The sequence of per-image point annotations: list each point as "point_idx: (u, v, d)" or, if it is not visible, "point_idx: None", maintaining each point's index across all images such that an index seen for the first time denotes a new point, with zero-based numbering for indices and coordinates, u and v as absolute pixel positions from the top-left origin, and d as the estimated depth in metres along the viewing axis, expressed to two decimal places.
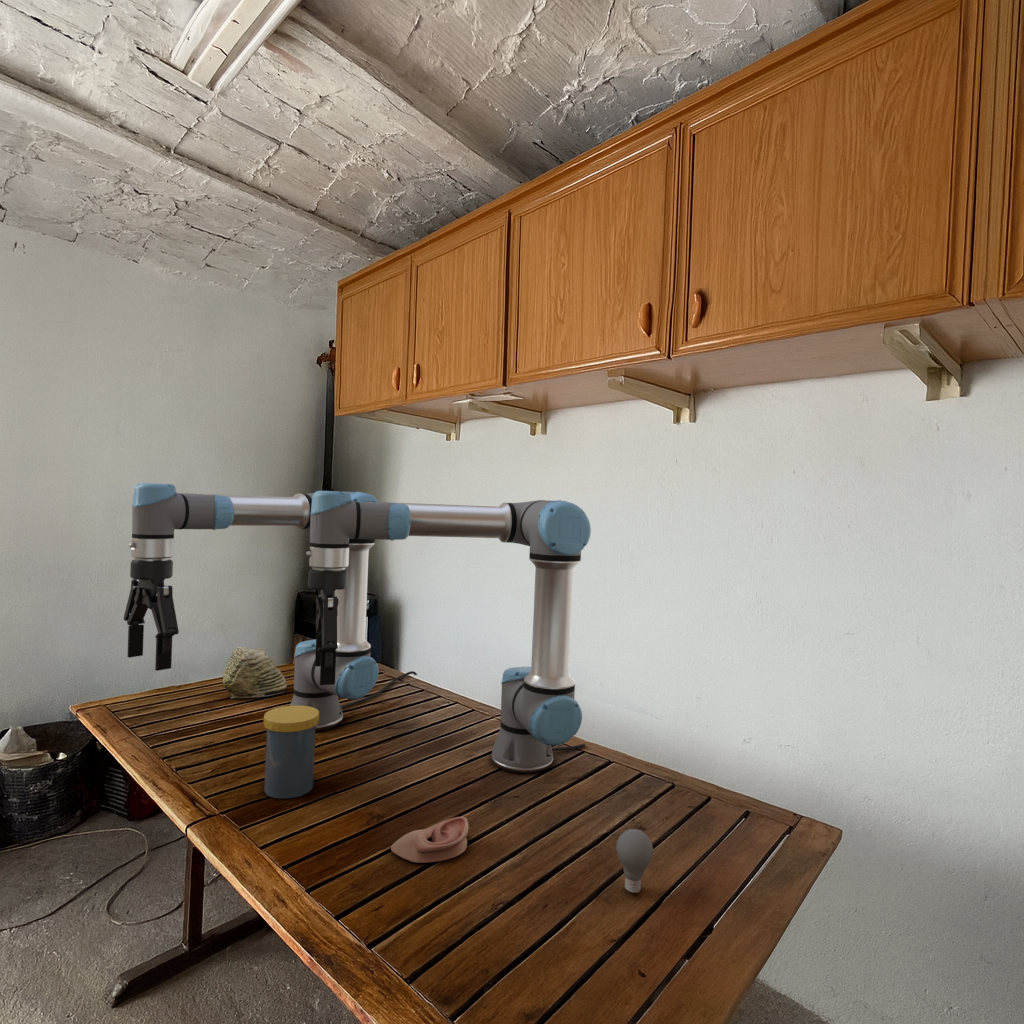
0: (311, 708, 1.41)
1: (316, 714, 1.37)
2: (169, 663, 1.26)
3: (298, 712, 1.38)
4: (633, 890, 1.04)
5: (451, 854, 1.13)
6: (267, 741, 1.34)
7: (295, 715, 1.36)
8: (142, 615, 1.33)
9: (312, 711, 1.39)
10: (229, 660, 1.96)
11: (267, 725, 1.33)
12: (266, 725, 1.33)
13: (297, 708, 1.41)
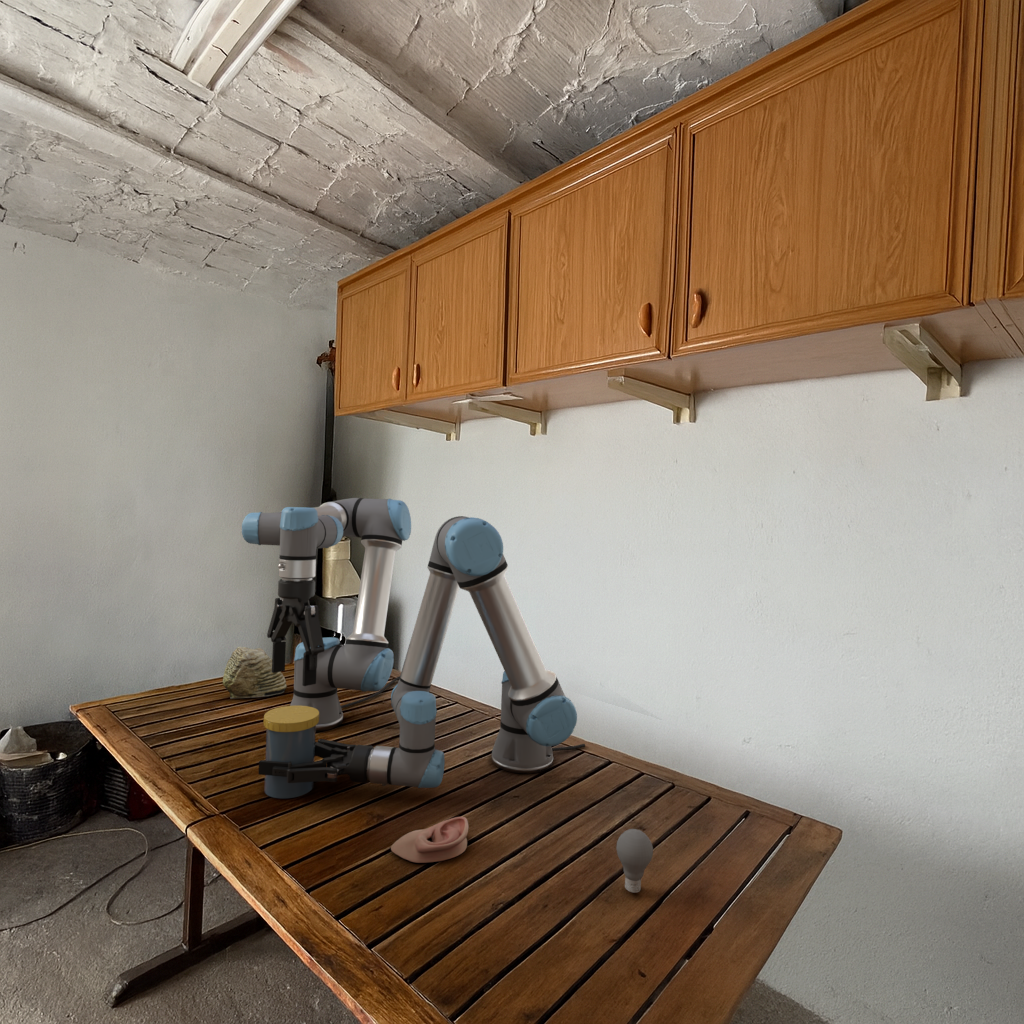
0: (311, 708, 1.41)
1: (316, 714, 1.37)
2: (314, 679, 1.33)
3: (298, 712, 1.38)
4: (633, 890, 1.04)
5: (451, 854, 1.13)
6: (267, 741, 1.34)
7: (295, 715, 1.36)
8: (285, 632, 1.41)
9: (312, 711, 1.39)
10: (229, 660, 1.96)
11: (267, 725, 1.33)
12: (266, 725, 1.33)
13: (297, 708, 1.41)
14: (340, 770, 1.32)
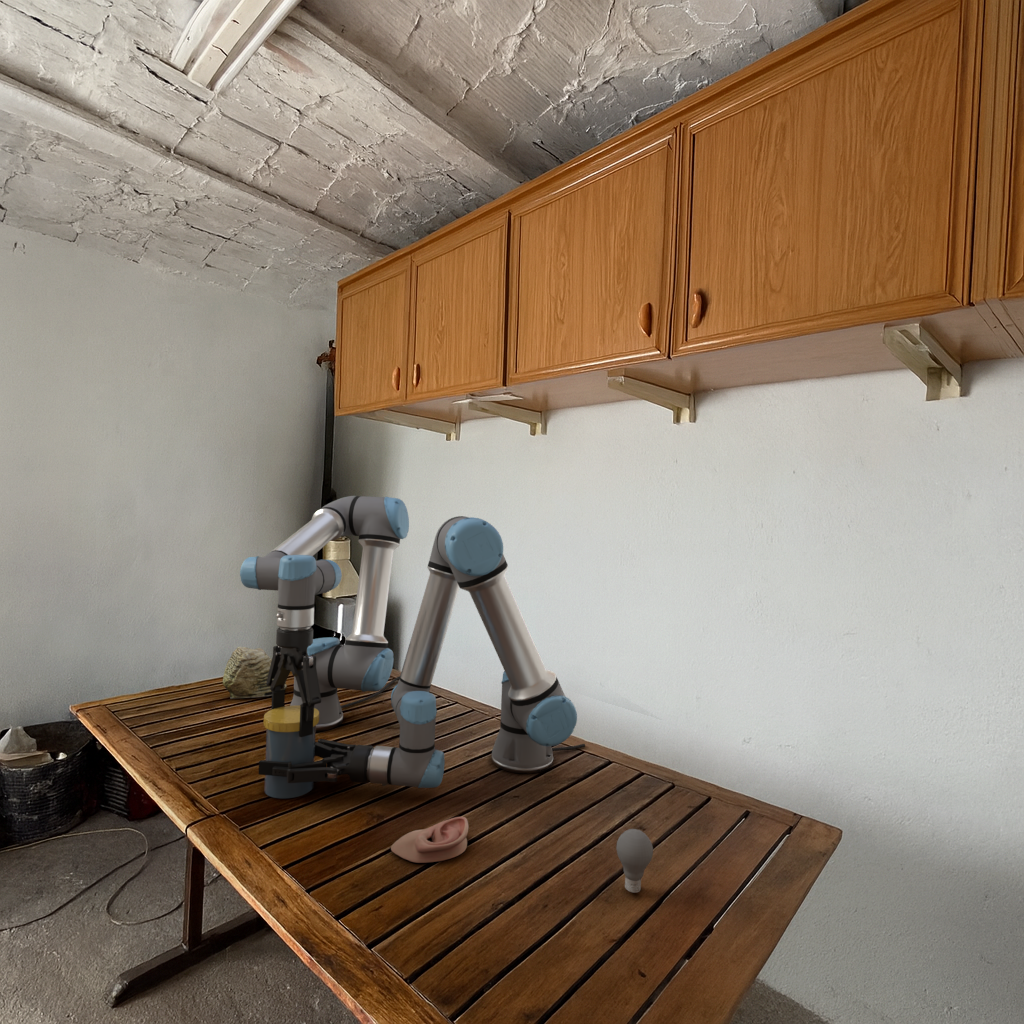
0: None
1: (316, 714, 1.37)
2: (311, 729, 1.34)
3: (298, 712, 1.38)
4: (633, 890, 1.04)
5: (451, 854, 1.13)
6: (267, 741, 1.34)
7: (295, 715, 1.36)
8: (284, 680, 1.41)
9: None
10: (229, 660, 1.96)
11: (267, 725, 1.33)
12: (266, 725, 1.33)
13: (297, 708, 1.41)
14: (340, 770, 1.32)
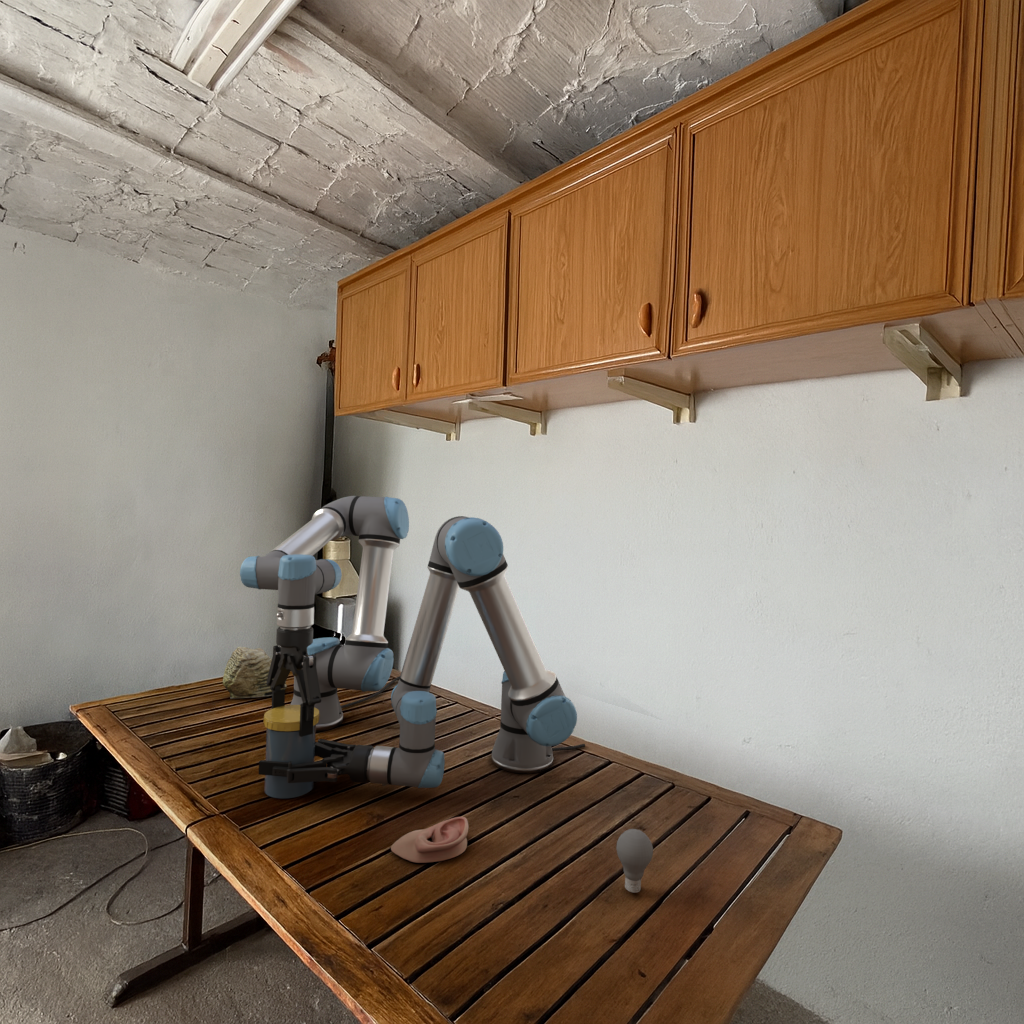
0: (285, 706, 1.41)
1: None
2: (311, 729, 1.34)
3: (291, 710, 1.38)
4: (633, 890, 1.04)
5: (451, 854, 1.13)
6: (267, 741, 1.34)
7: (298, 712, 1.38)
8: (284, 680, 1.41)
9: (294, 706, 1.41)
10: (229, 660, 1.96)
11: (298, 726, 1.32)
12: (296, 727, 1.32)
13: (278, 710, 1.38)
14: (340, 770, 1.32)
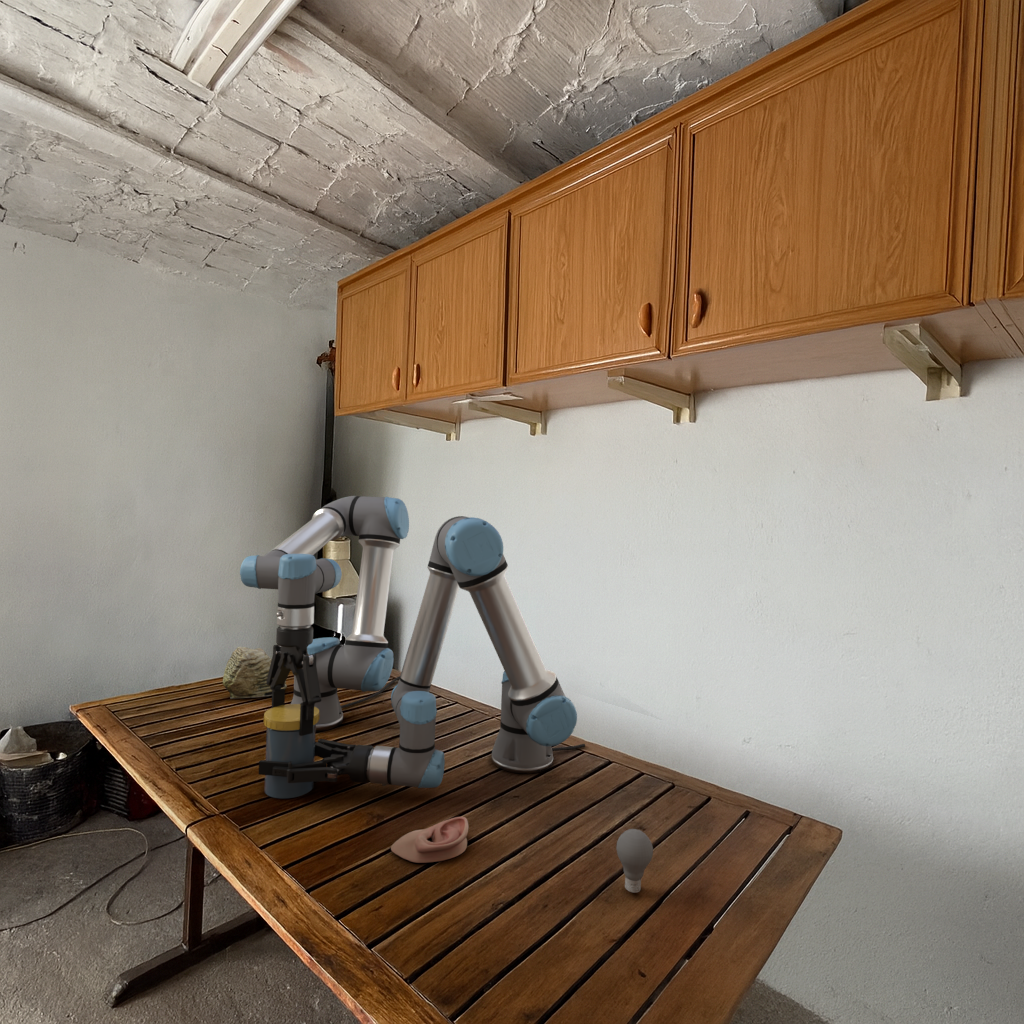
0: (267, 713, 1.36)
1: (276, 707, 1.40)
2: (311, 728, 1.34)
3: (284, 712, 1.37)
4: (633, 890, 1.04)
5: (451, 854, 1.13)
6: (267, 741, 1.34)
7: (292, 710, 1.38)
8: (284, 679, 1.41)
9: (273, 710, 1.38)
10: (229, 660, 1.96)
11: None
12: (318, 717, 1.38)
13: (277, 716, 1.34)
14: (340, 770, 1.32)
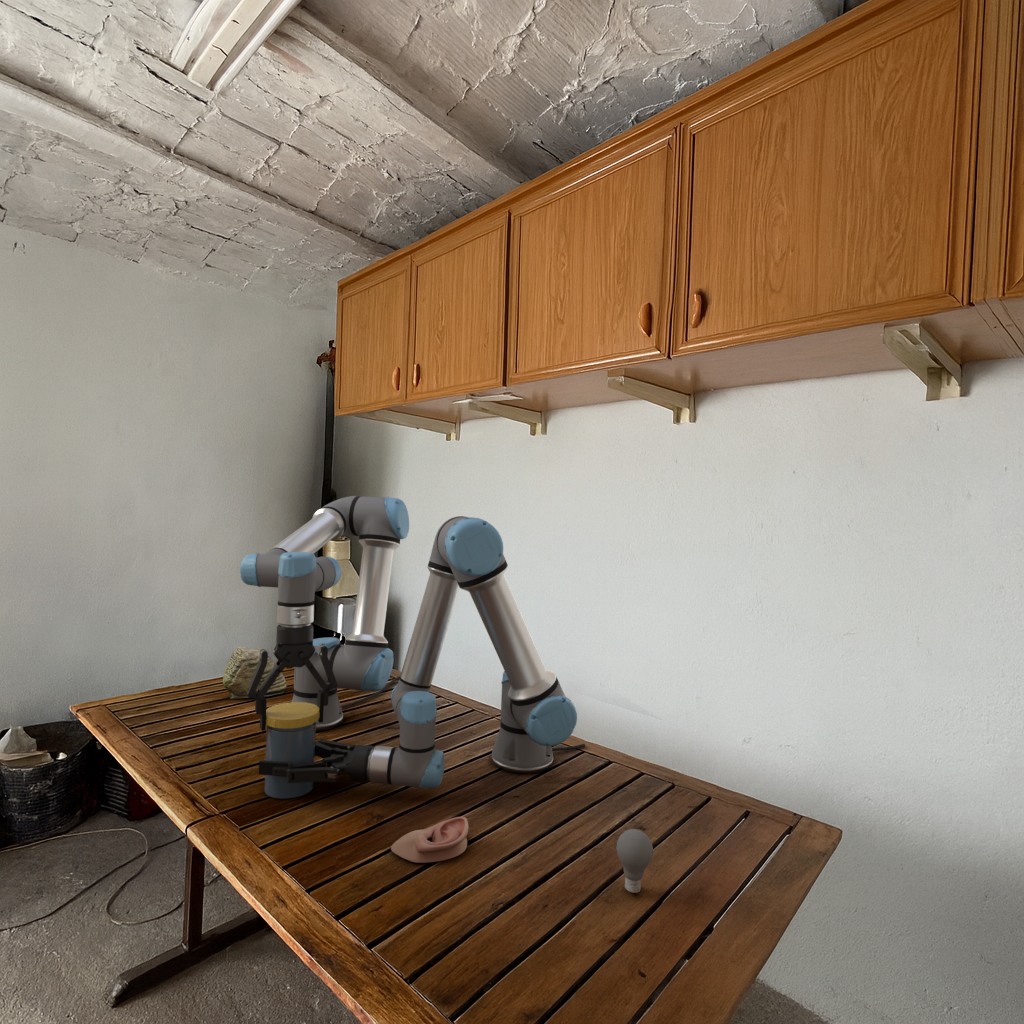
0: (283, 718, 1.32)
1: (267, 714, 1.34)
2: None
3: (288, 712, 1.36)
4: (633, 890, 1.04)
5: (451, 854, 1.13)
6: (267, 741, 1.34)
7: (286, 710, 1.37)
8: None
9: (276, 716, 1.33)
10: (229, 660, 1.96)
11: None
12: None
13: (297, 715, 1.34)
14: (340, 770, 1.32)
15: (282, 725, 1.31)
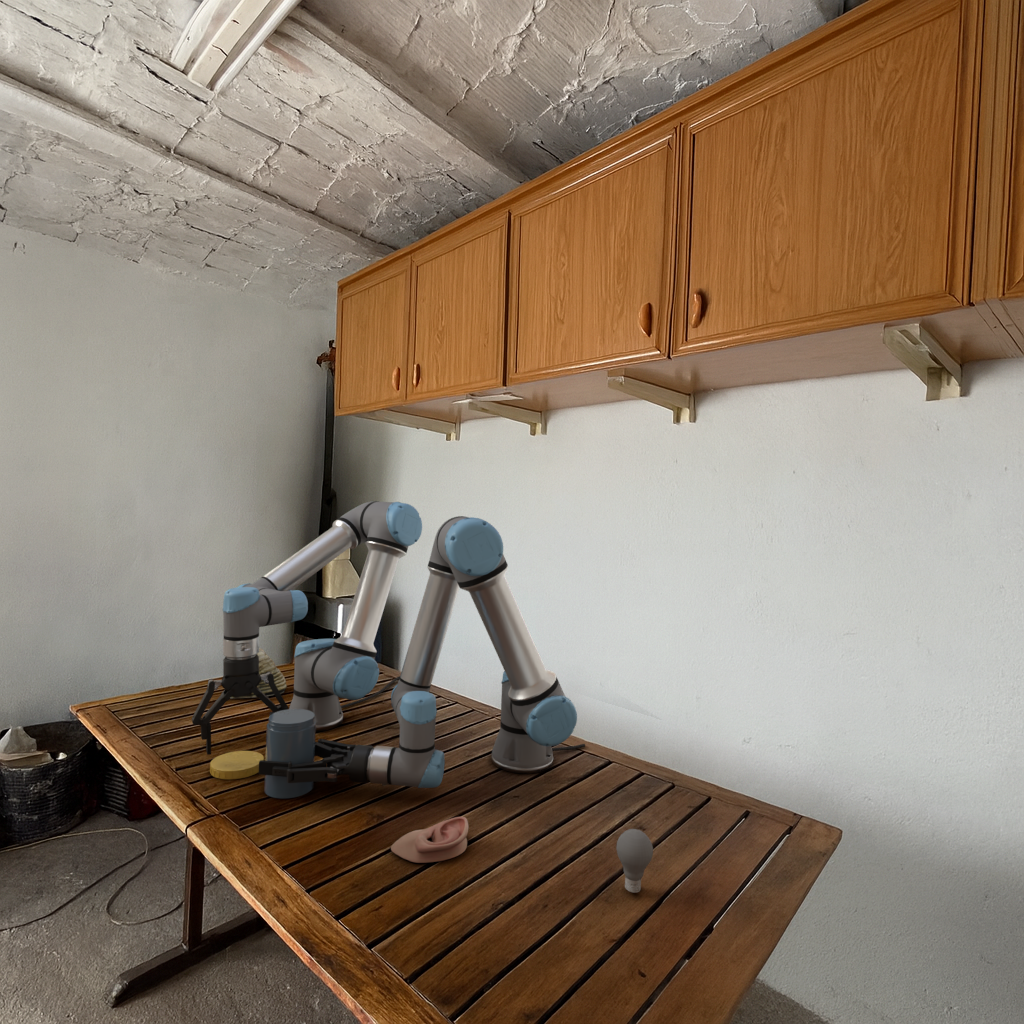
0: (227, 769, 1.40)
1: (213, 765, 1.42)
2: None
3: (233, 763, 1.44)
4: (633, 890, 1.04)
5: (451, 854, 1.13)
6: (267, 741, 1.34)
7: (231, 760, 1.45)
8: None
9: (221, 767, 1.41)
10: None
11: None
12: None
13: (241, 766, 1.42)
14: (340, 770, 1.32)
15: (226, 776, 1.40)
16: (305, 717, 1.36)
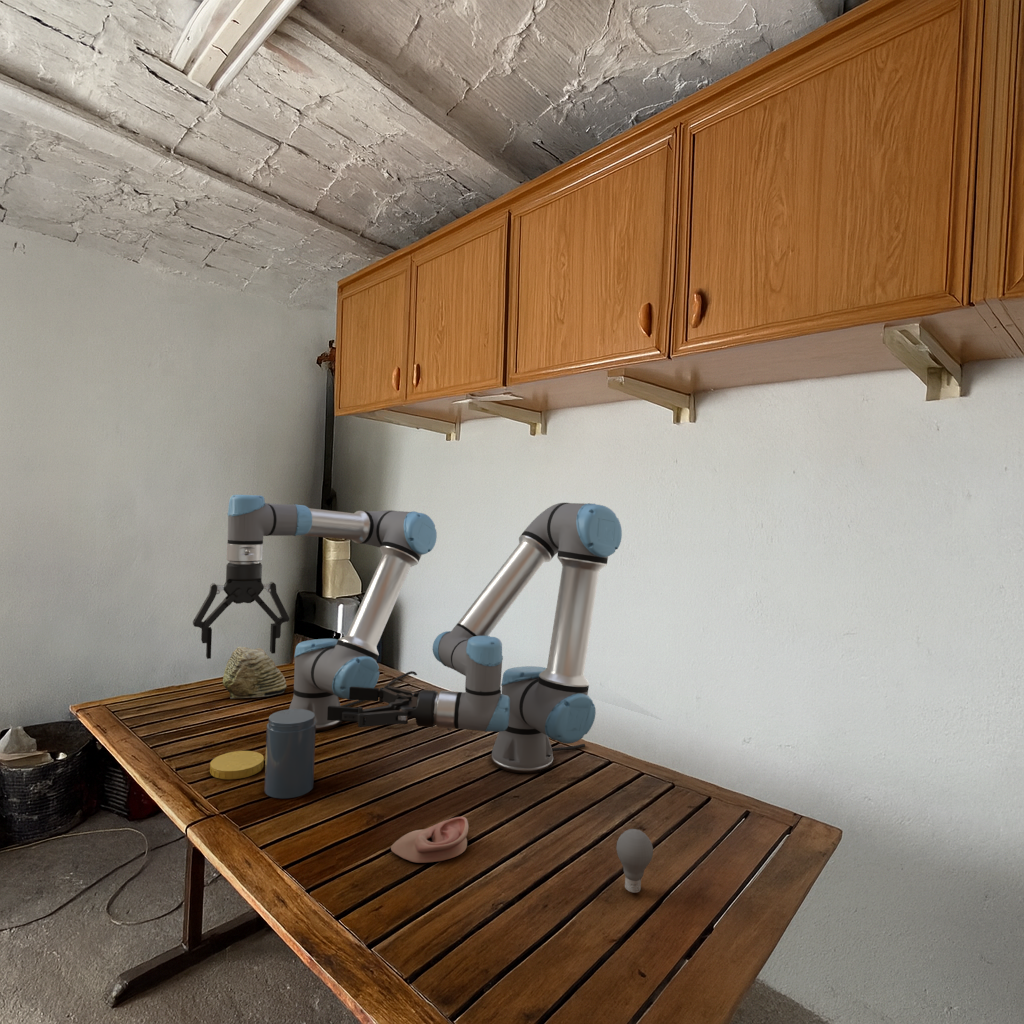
0: (227, 769, 1.40)
1: (213, 765, 1.42)
2: None
3: (233, 763, 1.44)
4: (633, 890, 1.04)
5: (451, 854, 1.13)
6: (267, 741, 1.34)
7: (231, 760, 1.45)
8: None
9: (221, 767, 1.41)
10: (229, 660, 1.96)
11: None
12: None
13: (241, 766, 1.42)
14: (408, 713, 1.31)
15: (226, 776, 1.40)
16: (305, 717, 1.36)
